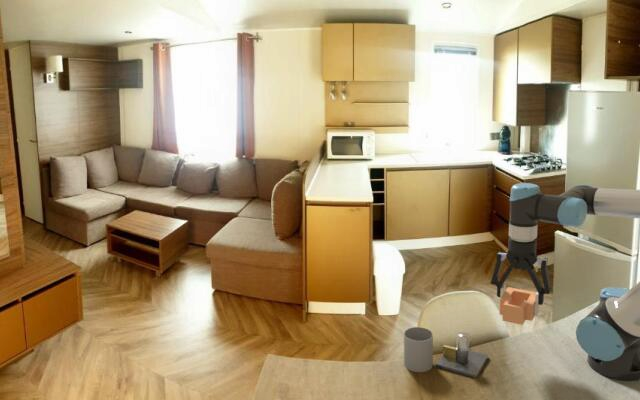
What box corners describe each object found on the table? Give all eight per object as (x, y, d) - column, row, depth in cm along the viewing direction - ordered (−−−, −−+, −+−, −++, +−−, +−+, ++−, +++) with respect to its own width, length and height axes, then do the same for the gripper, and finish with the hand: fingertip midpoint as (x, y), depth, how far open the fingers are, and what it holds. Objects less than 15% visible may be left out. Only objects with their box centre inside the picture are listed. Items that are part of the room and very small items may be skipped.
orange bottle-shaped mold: (507, 302, 164) (508, 287, 163) (538, 308, 159) (539, 292, 158) (496, 319, 154) (496, 303, 152) (529, 326, 149) (530, 309, 148)
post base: (488, 357, 161) (489, 330, 159) (476, 378, 152) (477, 349, 149) (449, 348, 168) (450, 322, 165) (435, 366, 158) (435, 339, 156)
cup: (431, 357, 163) (431, 327, 161) (434, 372, 155) (434, 341, 153) (403, 356, 164) (403, 327, 162) (404, 371, 156) (404, 340, 154)
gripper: (566, 238, 149) (561, 312, 155) (487, 229, 161) (485, 298, 166) (561, 247, 143) (556, 323, 149) (480, 236, 155) (478, 308, 160)
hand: (519, 310), depth 158 cm, fingers closed on orange bottle-shaped mold, 9 cm apart
